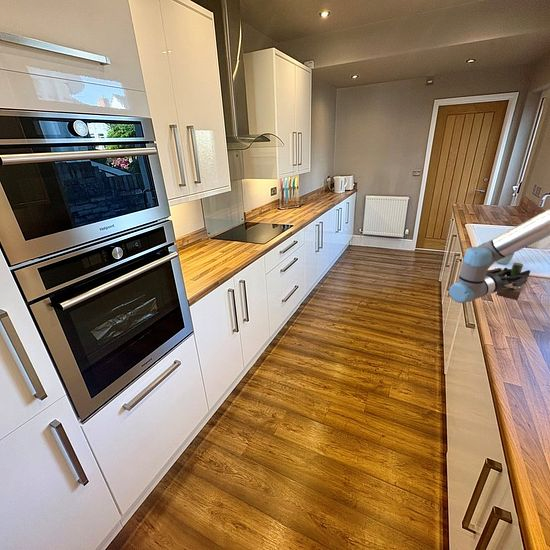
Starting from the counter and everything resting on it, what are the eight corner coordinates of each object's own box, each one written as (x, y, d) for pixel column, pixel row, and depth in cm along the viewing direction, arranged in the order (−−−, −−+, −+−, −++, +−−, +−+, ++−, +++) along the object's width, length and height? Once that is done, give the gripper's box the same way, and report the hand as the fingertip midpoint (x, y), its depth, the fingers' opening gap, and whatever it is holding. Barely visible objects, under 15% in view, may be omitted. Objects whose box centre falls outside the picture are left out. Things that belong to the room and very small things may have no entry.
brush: (518, 295, 118) (530, 264, 112) (517, 300, 115) (529, 268, 109) (498, 290, 122) (508, 260, 116) (495, 295, 119) (506, 263, 113)
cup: (512, 266, 156) (518, 248, 151) (495, 264, 158) (500, 247, 154) (507, 260, 162) (513, 243, 158) (491, 259, 165) (496, 242, 160)
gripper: (462, 284, 116) (499, 272, 125) (505, 303, 103) (543, 288, 111) (467, 267, 113) (504, 256, 121) (512, 284, 100) (550, 270, 108)
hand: (523, 271), depth 116 cm, fingers closed on brush, 3 cm apart
